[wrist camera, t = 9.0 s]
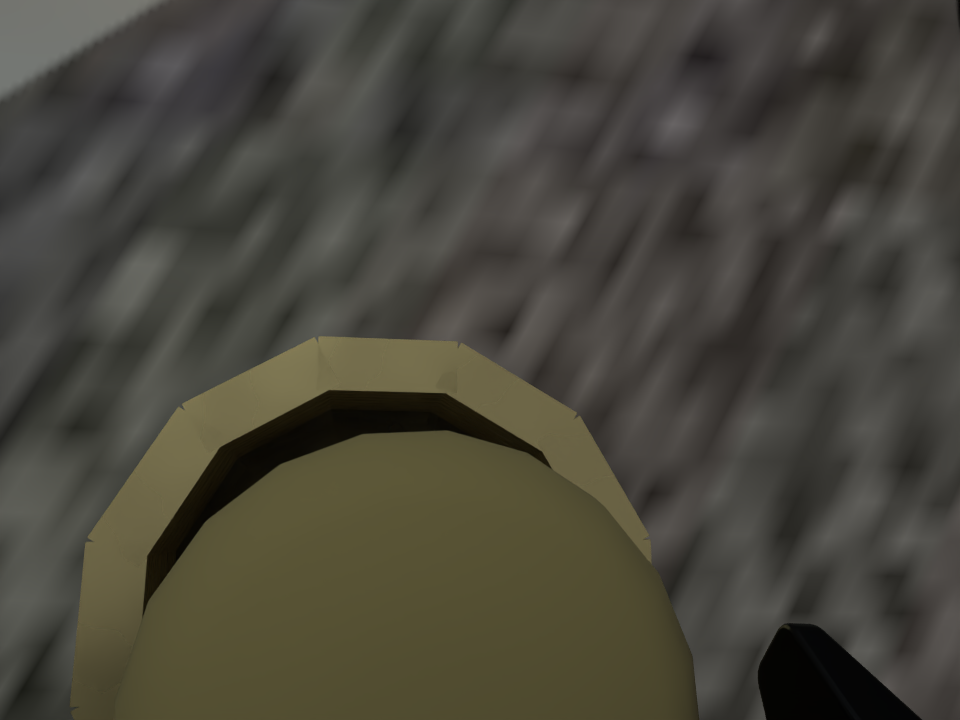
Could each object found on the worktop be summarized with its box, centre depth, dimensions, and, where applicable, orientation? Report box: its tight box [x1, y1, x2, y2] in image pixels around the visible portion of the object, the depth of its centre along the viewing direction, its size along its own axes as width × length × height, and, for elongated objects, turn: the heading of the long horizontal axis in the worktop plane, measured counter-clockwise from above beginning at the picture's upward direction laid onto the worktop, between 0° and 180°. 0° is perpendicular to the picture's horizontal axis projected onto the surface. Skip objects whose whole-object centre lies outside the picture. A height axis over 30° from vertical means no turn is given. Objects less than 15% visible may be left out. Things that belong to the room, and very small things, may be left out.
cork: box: [114, 430, 699, 720], centre depth 11 cm, size 6×6×11 cm
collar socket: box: [70, 336, 652, 720], centre depth 16 cm, size 11×11×3 cm
